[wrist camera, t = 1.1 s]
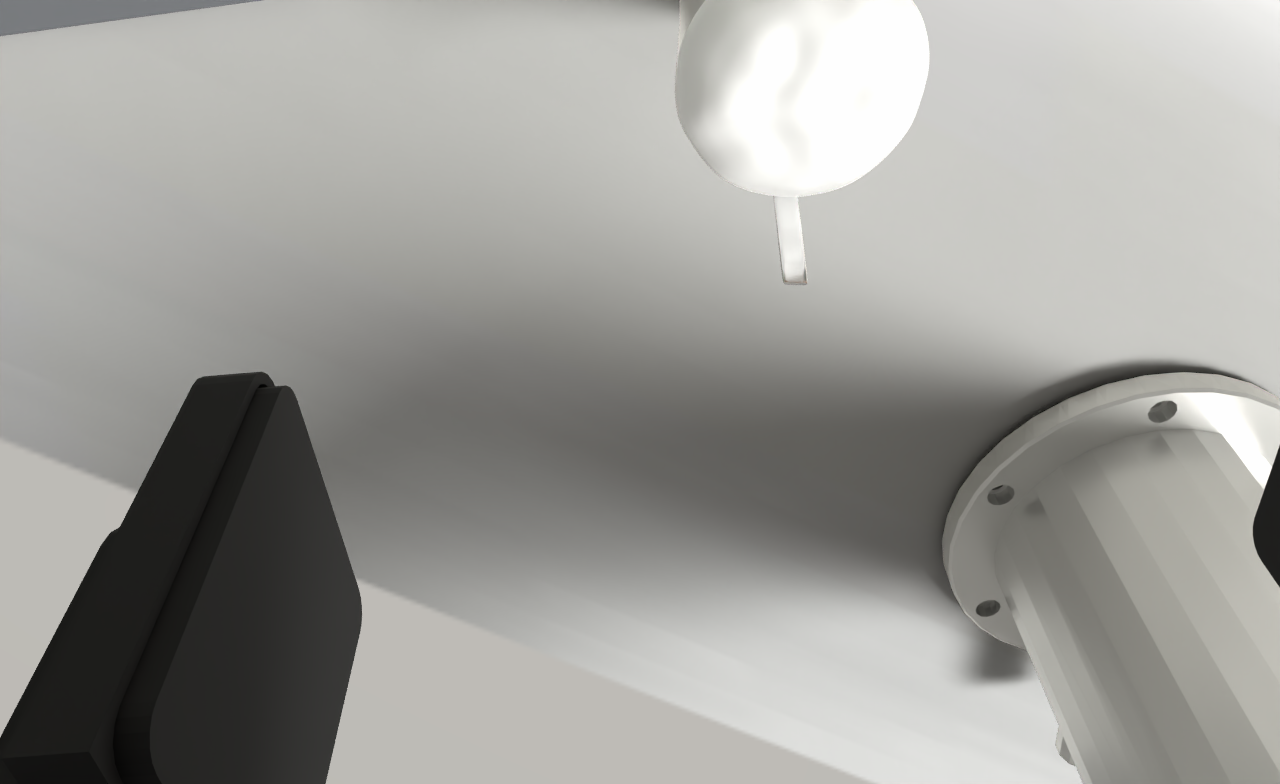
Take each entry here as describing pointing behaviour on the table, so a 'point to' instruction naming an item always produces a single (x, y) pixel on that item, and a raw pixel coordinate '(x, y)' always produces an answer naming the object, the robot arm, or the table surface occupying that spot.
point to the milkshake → (798, 95)
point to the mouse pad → (88, 12)
